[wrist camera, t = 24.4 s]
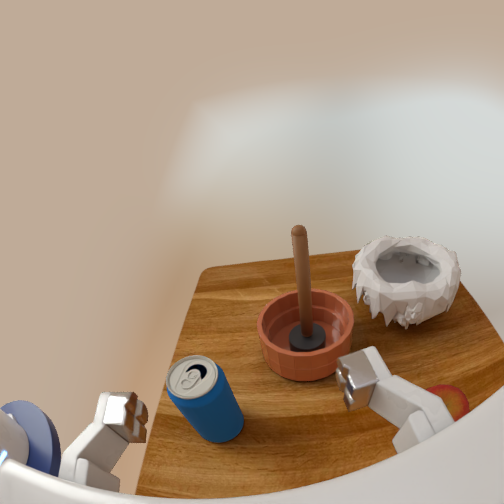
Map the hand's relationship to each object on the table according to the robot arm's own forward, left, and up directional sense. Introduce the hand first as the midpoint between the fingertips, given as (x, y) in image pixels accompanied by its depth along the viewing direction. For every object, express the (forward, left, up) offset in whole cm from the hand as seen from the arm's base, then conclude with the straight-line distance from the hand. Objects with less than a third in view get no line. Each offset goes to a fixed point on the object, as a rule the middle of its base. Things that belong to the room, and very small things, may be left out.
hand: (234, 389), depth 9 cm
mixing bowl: (+14, +18, -25) cm, 34 cm away
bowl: (+34, +15, -25) cm, 45 cm away
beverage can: (-3, +13, -25) cm, 28 cm away
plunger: (+14, +18, -24) cm, 33 cm away
